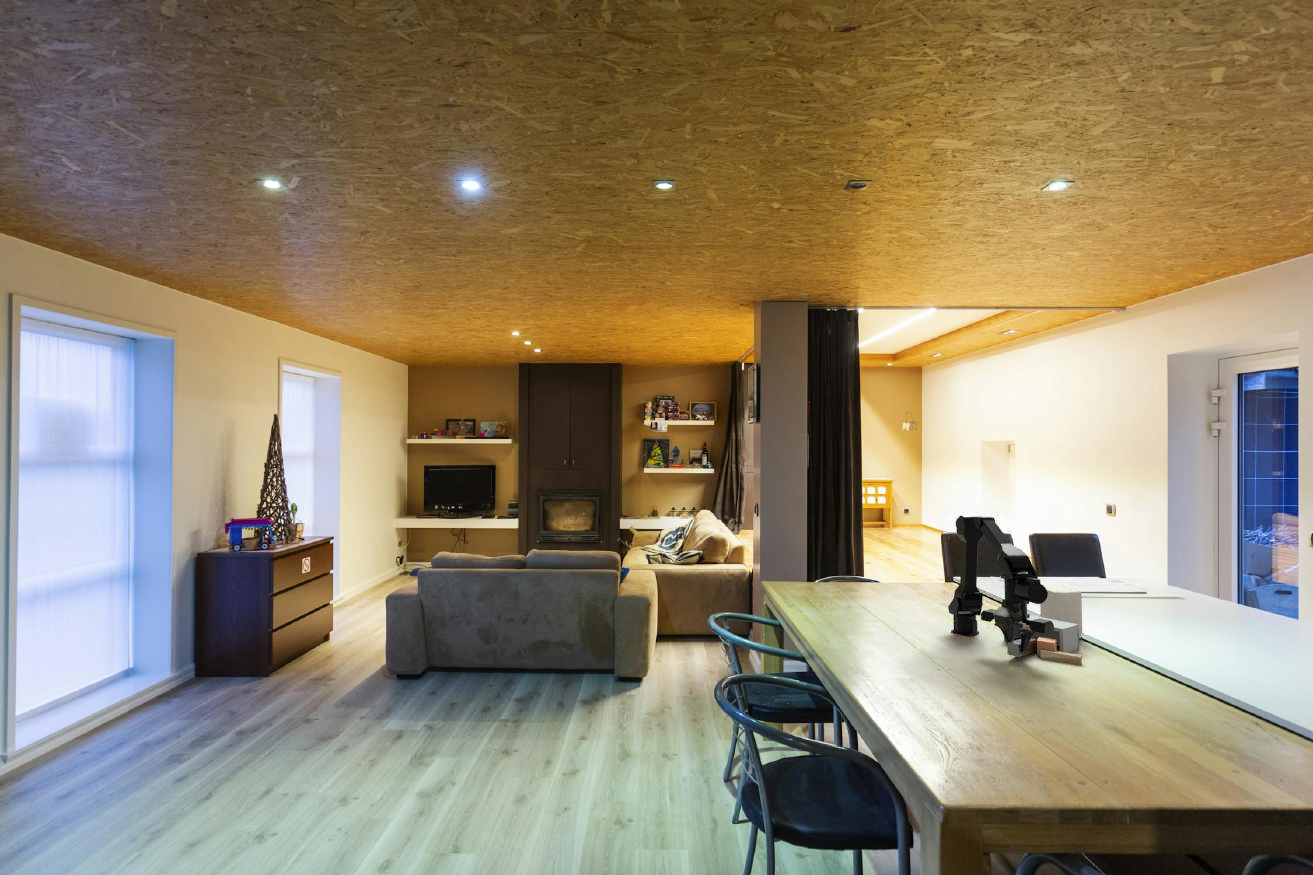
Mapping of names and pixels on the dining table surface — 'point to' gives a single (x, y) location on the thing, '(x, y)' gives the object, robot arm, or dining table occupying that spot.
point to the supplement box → (1063, 606)
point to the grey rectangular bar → (1015, 647)
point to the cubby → (1056, 634)
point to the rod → (1061, 656)
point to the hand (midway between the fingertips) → (1016, 650)
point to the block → (1045, 644)
